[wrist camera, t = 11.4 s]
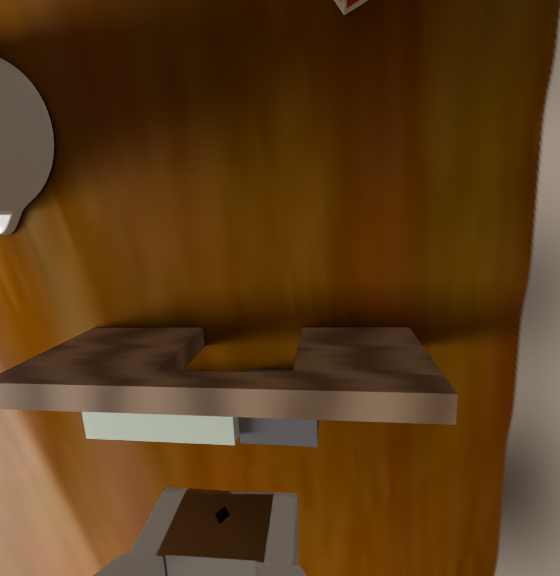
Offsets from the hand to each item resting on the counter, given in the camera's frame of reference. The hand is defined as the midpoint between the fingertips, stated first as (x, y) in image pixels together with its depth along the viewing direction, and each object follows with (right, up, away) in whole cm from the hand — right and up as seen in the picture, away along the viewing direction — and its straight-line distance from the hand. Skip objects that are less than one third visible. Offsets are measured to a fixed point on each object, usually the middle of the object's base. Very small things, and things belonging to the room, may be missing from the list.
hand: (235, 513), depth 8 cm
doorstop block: (+1, -5, +28) cm, 29 cm away
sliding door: (-9, -6, +29) cm, 31 cm away
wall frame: (-3, 0, +27) cm, 27 cm away
